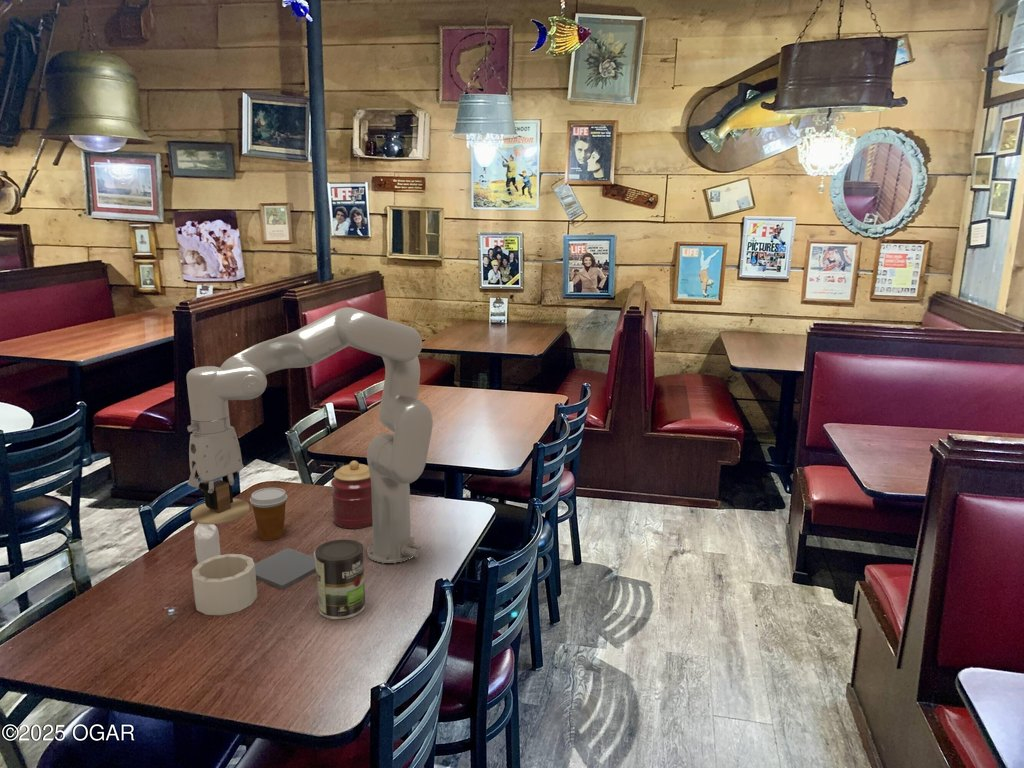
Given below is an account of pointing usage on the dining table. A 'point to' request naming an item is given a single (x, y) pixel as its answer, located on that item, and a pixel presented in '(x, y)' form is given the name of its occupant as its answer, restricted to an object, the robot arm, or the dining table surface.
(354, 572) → the coffee can
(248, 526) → the dining table surface
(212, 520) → the lid
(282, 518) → the disposable coffee cup
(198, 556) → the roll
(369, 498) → the canister
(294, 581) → the mat
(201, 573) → the bowl
